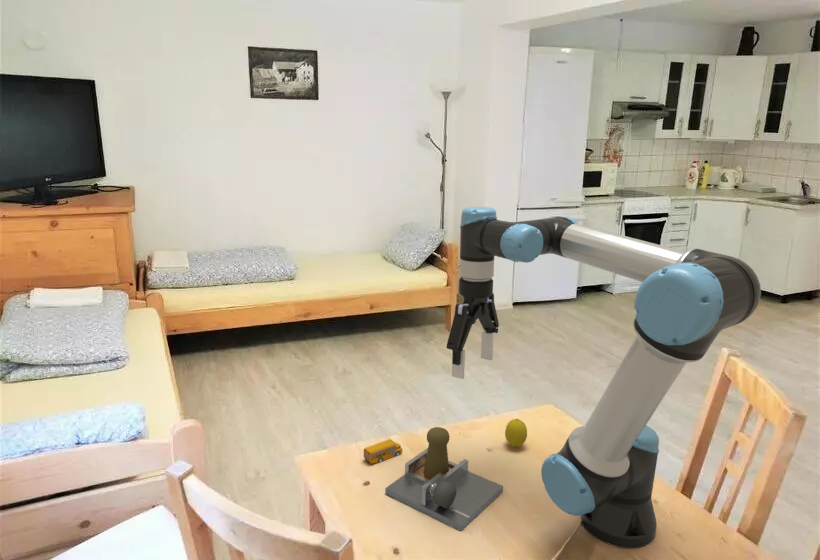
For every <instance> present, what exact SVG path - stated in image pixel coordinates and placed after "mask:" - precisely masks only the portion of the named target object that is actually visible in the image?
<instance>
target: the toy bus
mask: <svg viewBox="0 0 820 560" xmlns="http://www.w3.org/2000/svg"><path fill="white" fill-rule="evenodd" d="M401 454H403V448H402V446H401V444H400V443H398V442H397V443H396V442H395V441H394V440H393V439H391V438H390V439H386V440H383V441H381V442H378V443H375V444H372V445H369V446H367V447H364V448H363V459H364V460H366V462H368V463H370V464H371V465H373V464H377V463H382V462H383V461H386V460H387V459H388V460H389V459H391V458H393V457H398V456H400V455H401Z"/></svg>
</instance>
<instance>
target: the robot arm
mask: <svg viewBox="0 0 820 560" xmlns="http://www.w3.org/2000/svg"><path fill="white" fill-rule="evenodd" d="M497 218H498V217H497V210H496V209H495V208H493V207H490V206H489V207H488V206H469V207H465V208H463V209H462V211H461V217H460V226H459V228H460V238H459V241H460V242H459V244H460V245H459V250H460V251H459V261H458V264H459V276H460V277H459V278H458V294H459V295H460V296H462V298H463V302H462V304H460V303H456V304H455V307H454V316H453V320H452V323H451V327H450V331H449V335H448V339H447V342H446V347H445V348H446V350H447V349H448V350H450V351H451V350H452V354H451V355H452V357H451V377H452V378H453V377H454V378H456V379H461V380H463V379H465V365H466V363H465V362H466V360H465V359H466V350H465V349H464V347H465V345H466V342H467V339H468V337H469V334H470V332H471V329H472V327H473V325H475V323H476V321H477V320H479V322H480V324H481V328H482V329H483V331H481V345H480V347H481V348H480V359H483V360H487V361H492V360H493V356H494V334H498V332H499V326H500V324H499V319H498V314H497V309H496V304H495V294H494V292H493V291H494V280H493V277H494V275H495V274H494V273H495V257H498V258H502V259H505V260H508V261H512V262H513V263H514V262H515V263H519V262H521V263H527V264H528V263H531V262H533V261H535V259H536V258H539V256H543V255H549V254H551V255H552V254H553V255H556V256H559V257H562V258H566V259H569V260H573V261H576V262H578V263H582V264H585V265H588V266H590V267H593V268H597V269H601V270H603V271H607V272H610V273H613V274H615V275H619V276H622V277H624V278H629V279H632V280H634V281H638V282H641V284H640V285H639V287H638V289H637V291H636V294H635V296H634V297H635V298H634V303H633V305H634V306H633V308H634V309H635V311H636V314H635V318H634V320H633V330H634V331H635V334H636V336H635V338H634V339H633V341H632V343H631V344H630V346H629V348H628V349H627V352H626V354H625V355H624V357H623V359H622V361H621V362H620V364H619V365H618V368H617V369H616V370H615V372H614V374H613V377H612V378H611V379H610V381H609V383H608V384H607V386H606V388H605V390H604V392H603V394H602V395H601V397H600V399H599V401H598V402H597V404H596V406H595V407H594V410H593V412H592V413H591V415H590V416H589V418H588V420H587V421H586V422H585V424H584V426H578V427H575V428H574V429H573V430H572V431H571V432H570V433H569V436H568V437H567V439H566V441H565V443H564V444H563V446H562V448H561V449H560V450H559V451H558V452H557V453H552V454H550V455H549V456H548V457H546V458H545V460H544V461H543V463H542V465H541V469H540V470H541V472H540V474H541V481H542V483H543V485H544V489H545V491H546V493H547V494H548V497H549V498H550V500H551V501H552V502H553V503H554V505H555V506H556V507H558V509H560V510H561V511H562V512H564V513H565V514H567V515H572V516H575V517H579V516H580V518H581V520H580V522H581V524H582V527H584V529H585V530H586V531H587V532H588V533H589V534H591V535H592V536H593V537H594V538H596V539H598V540H600V541H602V542H603V543H606V544H608V545H612V546H615V547H619V548H627V549H629V548H630V549H631V548H633V549H634V548H635V549H636V548H642V547H645V546H647V545H650V543H652V542H653V541H654V539H655V538H656V535H657V528H658V527H657V525H658V524H657V518H656V514H655V509H654V506H653V500H652V494H653V488H654V482H655V475H656V468H657V462H658V455H659V453H660V449H659V445H660V439H659V438H660V437H659V435H658V434H657V432H656V431H655V430H654V429H653V428H651V427H650V426H648V425H647V424H648V423H649V421H650V420H651V418H652V416H653V415H654V414H655V412H656V410H657V409H658V407H660V405H661V403H662V401H663V400H664V398H665V397H666V395H667V394H668V392H669V390H670V389H671V387H672V386H673V384H674V383H675V381H676V379H677V378H678V376H679V375H680V373H681V372H682V370H683V369H684V367H685V365H686V364H687V363H695V362H698V361H701V360H702V359H703V358H704V356H705V355H706V354H707V352H708V350H709V349H710V347H711V346H712V344H713V343H714V341H715V340H716V338H717V336H718V335H719V334H720V333H721V332H722V331H723V330H725V329H726V330H727V329H729V328H731V327H735V326H737V325H739V324H741V323H743V322H744V321H747V319H749V318H750V317H751V316H752V315H753V314H754V313H755V311H756V309H757V308H758V305H760V301H761V296H762V290H761V283H760V280H759V277H758V275H757V274H756V272H755V271H754V270H753V268H752V267H751V266H750V265H748V264H747V263H746V262H745V261H743V260H741V259H740V258H737V257H734V256H730V255H727V254H723V253H717V252H712V251H709V250H705V249H702V248H701V249H700V248H693V249H689V250H688V251H685V250H681V249H677V248H672V247H670V246H665V245H661V244H657V243H654V242H649V241H646V240H642V239H638V238H633V237H630V236H628V235H627V236H626V235H623V234H620V233H614V232H610V231H607V230H603V229H599V228H595V227H592V226H587V225H583V224H580V223H579V222H578V221H577V220H576V219H575V218H573V217H570V216H554V217H550V218H549V217H547V218H540V219H532V220H531V219H530V220H522V221H508V220H507V221H506V220H501V219H497Z"/></svg>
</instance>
